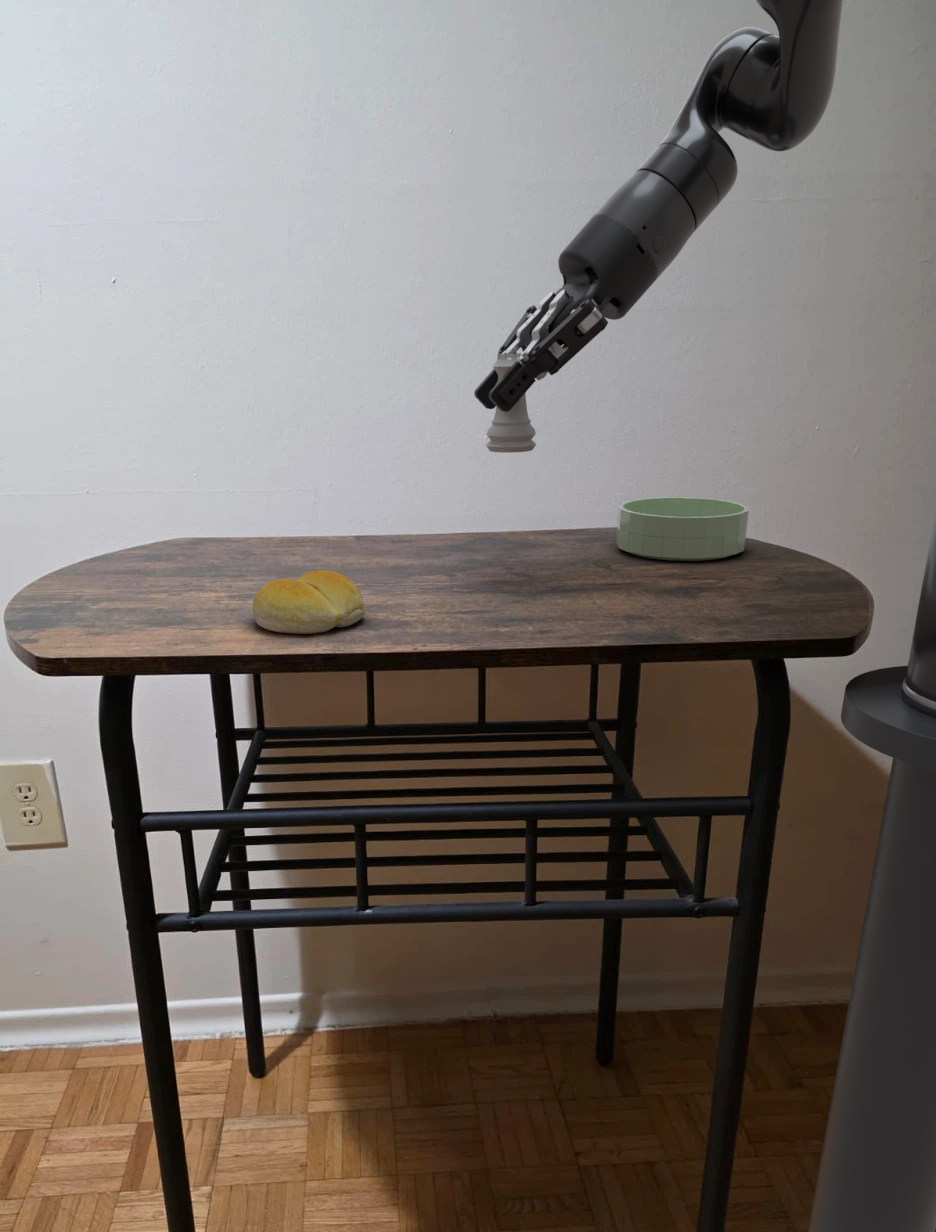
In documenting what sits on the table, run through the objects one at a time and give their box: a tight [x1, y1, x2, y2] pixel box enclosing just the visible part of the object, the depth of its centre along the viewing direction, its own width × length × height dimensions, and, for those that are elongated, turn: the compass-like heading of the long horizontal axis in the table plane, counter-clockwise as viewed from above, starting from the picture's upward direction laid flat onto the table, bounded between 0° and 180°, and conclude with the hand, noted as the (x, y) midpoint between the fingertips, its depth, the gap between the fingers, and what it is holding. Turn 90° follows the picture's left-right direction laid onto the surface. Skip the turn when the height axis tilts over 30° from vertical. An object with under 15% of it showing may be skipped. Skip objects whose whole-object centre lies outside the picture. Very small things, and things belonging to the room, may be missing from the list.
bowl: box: [615, 496, 750, 562], centre depth 102 cm, size 13×13×4 cm
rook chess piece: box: [485, 352, 537, 454], centre depth 84 cm, size 4×4×8 cm
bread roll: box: [252, 569, 366, 635], centre depth 79 cm, size 8×9×4 cm
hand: (489, 402), depth 84 cm, fingers closed on rook chess piece, 3 cm apart
